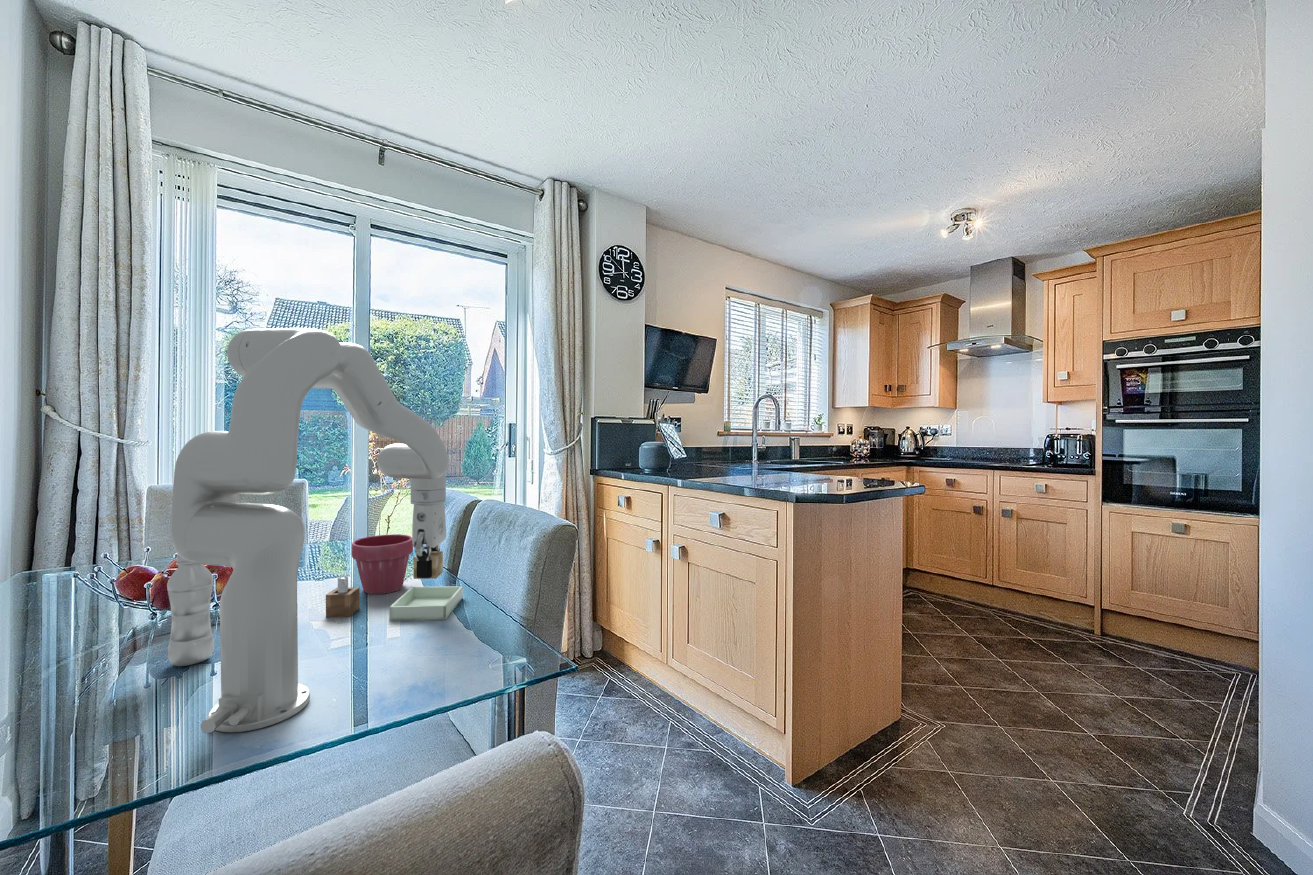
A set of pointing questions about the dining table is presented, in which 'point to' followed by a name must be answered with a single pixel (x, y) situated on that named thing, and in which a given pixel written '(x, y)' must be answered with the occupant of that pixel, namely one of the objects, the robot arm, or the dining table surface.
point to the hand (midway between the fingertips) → (428, 572)
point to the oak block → (436, 564)
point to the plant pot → (382, 561)
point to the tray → (426, 603)
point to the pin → (343, 585)
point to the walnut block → (342, 602)
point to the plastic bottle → (190, 613)
